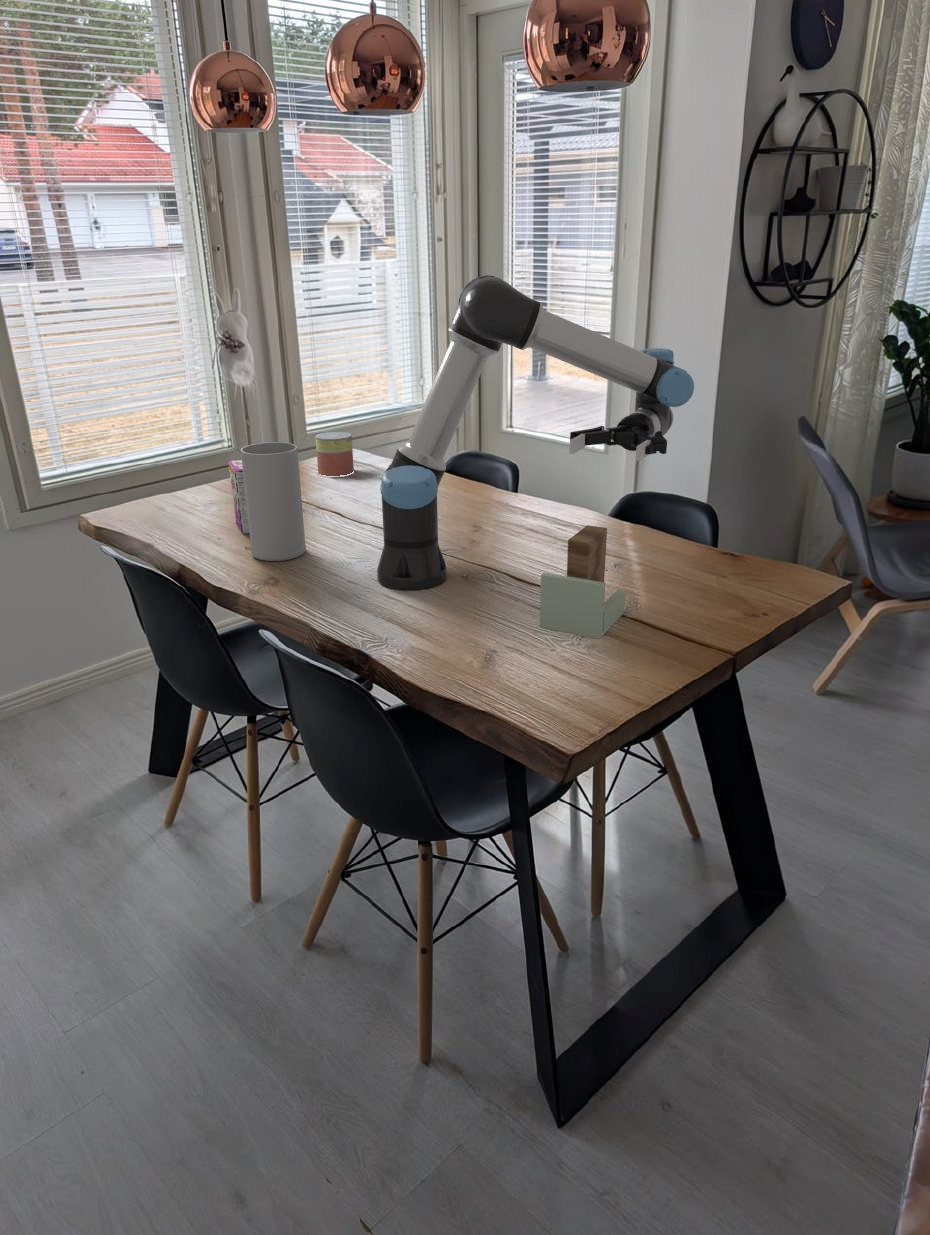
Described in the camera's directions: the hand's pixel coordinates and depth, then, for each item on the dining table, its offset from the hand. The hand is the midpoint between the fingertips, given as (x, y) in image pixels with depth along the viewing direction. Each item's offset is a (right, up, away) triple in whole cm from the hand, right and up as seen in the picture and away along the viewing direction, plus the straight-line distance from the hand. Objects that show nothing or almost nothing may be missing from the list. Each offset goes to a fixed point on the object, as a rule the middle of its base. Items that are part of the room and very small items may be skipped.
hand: (604, 450), depth 176 cm
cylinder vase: (-71, -18, +38) cm, 82 cm away
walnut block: (-4, -30, -1) cm, 30 cm away
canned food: (-67, +13, +108) cm, 128 cm away
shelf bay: (-4, -33, 0) cm, 33 cm away
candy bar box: (-83, -10, +57) cm, 101 cm away
